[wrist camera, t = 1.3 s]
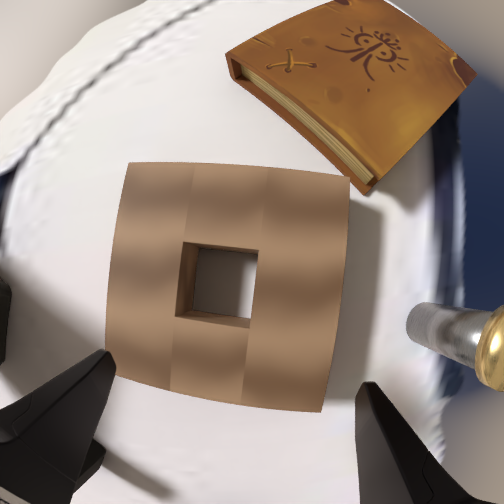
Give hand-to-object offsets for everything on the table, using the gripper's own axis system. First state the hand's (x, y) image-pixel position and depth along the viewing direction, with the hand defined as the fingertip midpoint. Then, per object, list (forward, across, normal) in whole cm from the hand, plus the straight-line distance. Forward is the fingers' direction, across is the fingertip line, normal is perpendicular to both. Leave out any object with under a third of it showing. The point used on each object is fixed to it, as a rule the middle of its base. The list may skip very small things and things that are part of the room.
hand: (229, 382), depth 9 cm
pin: (+13, -16, +8) cm, 22 cm away
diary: (+27, -10, -14) cm, 32 cm away
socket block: (+14, +3, +6) cm, 16 cm away
